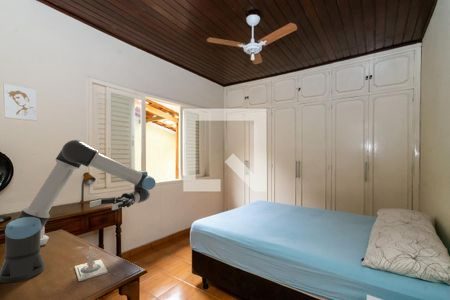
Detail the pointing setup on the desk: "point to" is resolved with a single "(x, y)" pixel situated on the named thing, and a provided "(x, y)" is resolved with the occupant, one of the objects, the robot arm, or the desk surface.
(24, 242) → the robot arm
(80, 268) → the cream rectangular board
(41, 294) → the desk surface
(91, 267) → the white stepped tower
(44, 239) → the figurine
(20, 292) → the desk surface
